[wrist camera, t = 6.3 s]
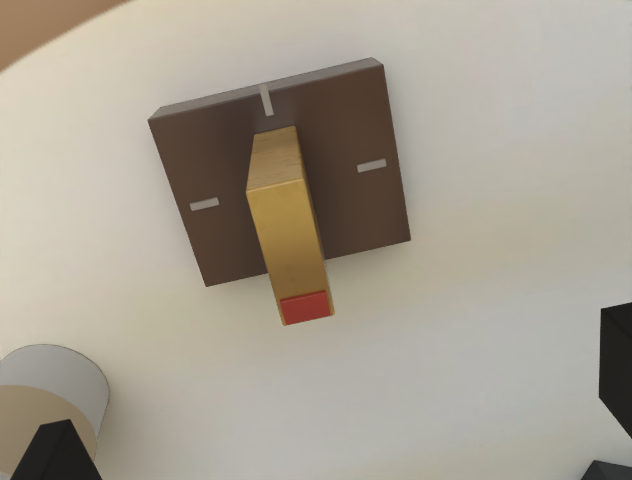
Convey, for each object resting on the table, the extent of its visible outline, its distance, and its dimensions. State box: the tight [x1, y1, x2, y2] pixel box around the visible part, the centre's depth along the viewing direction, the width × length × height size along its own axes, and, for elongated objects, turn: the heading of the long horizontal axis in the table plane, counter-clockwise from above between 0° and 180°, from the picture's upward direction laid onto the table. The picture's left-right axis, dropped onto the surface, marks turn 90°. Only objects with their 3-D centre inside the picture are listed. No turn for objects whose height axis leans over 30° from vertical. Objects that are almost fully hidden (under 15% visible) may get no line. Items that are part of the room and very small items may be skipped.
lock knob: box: [246, 126, 335, 326], centre depth 22 cm, size 6×2×8 cm, turn 12°
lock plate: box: [148, 57, 411, 287], centre depth 28 cm, size 11×10×3 cm
